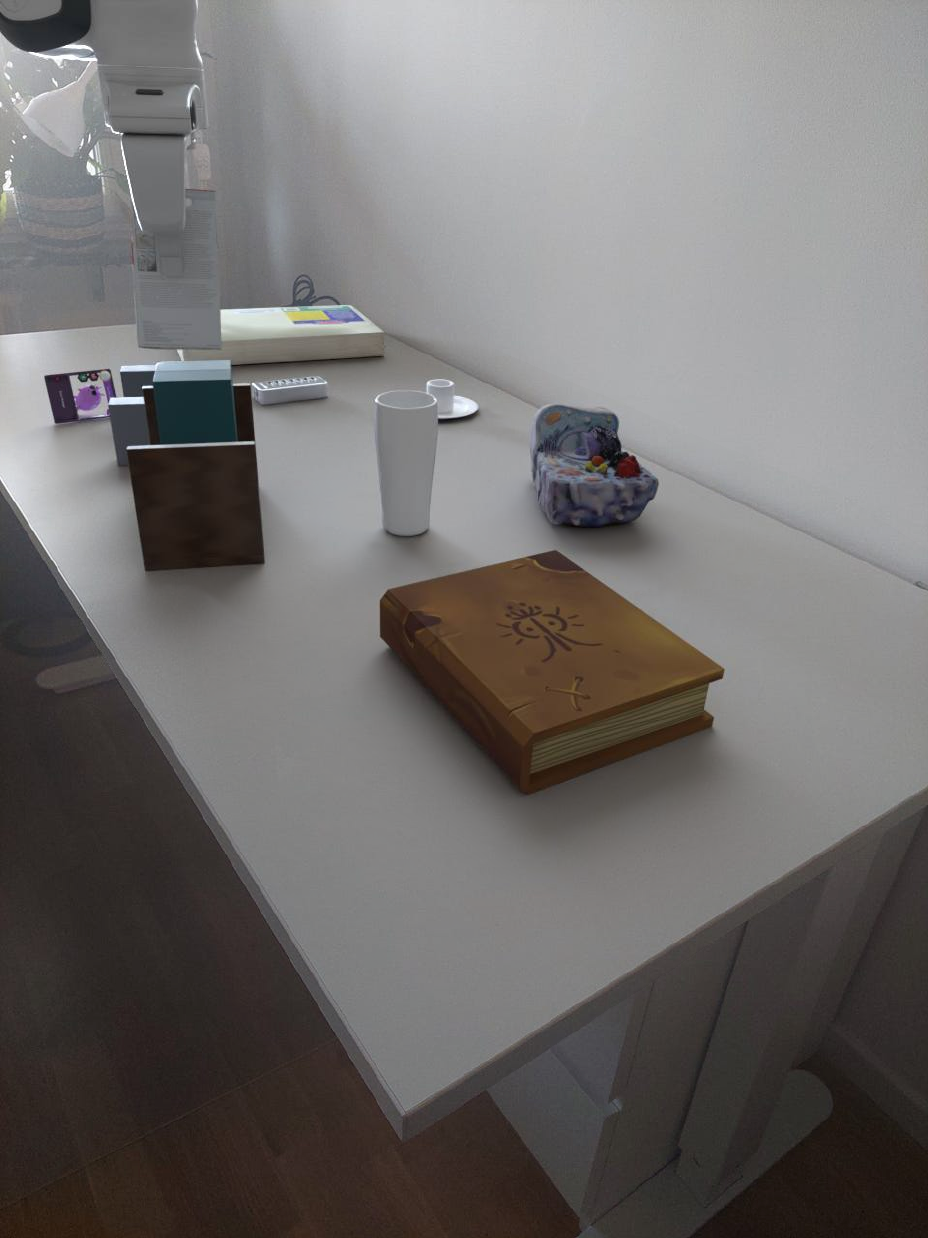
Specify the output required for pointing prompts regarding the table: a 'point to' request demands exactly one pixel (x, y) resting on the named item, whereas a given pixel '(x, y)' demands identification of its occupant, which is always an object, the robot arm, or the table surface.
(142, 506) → the book rack
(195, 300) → the ink box
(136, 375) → the grey u-shaped block
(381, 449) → the drinking glass
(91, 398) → the purple monster box
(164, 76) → the robot arm
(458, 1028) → the table surface
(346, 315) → the puzzle box
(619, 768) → the table surface
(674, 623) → the table surface
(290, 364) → the table surface
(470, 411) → the candle holder
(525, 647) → the diary
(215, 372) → the teal tall block
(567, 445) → the cell model
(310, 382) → the multiport hub
